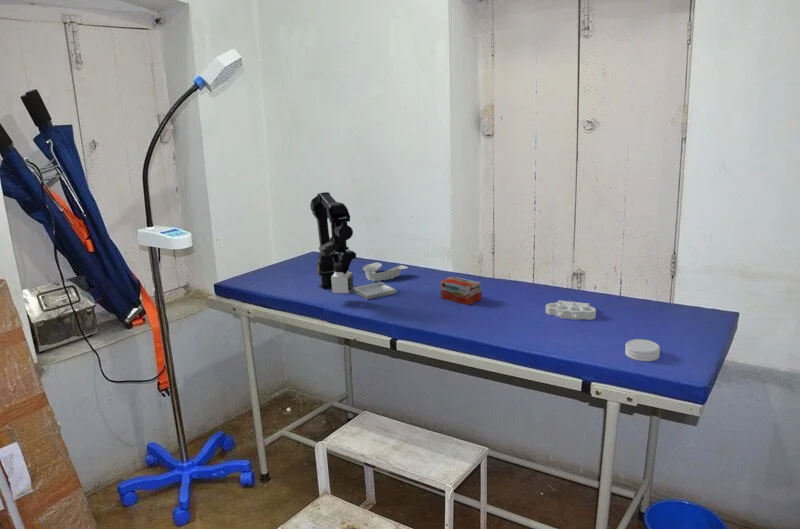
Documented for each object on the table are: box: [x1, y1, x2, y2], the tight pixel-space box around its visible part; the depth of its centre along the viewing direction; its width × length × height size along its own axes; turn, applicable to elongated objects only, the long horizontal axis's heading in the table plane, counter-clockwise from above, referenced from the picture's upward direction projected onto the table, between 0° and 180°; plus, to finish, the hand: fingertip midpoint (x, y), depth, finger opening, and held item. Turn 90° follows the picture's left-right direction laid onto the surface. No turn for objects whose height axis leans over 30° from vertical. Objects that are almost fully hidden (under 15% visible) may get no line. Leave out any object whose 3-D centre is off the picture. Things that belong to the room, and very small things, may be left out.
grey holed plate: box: [545, 299, 597, 321], centre depth 220 cm, size 3×18×15 cm
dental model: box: [362, 262, 408, 282], centre depth 278 cm, size 23×17×5 cm
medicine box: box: [440, 276, 482, 306], centre depth 241 cm, size 15×8×8 cm, turn 47°
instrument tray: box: [352, 281, 397, 301], centre depth 256 cm, size 14×14×2 cm
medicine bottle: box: [331, 262, 354, 294], centre depth 244 cm, size 7×7×12 cm
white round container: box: [624, 338, 661, 362], centre depth 183 cm, size 10×10×4 cm
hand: (341, 272), depth 243 cm, fingers closed on medicine bottle, 6 cm apart
